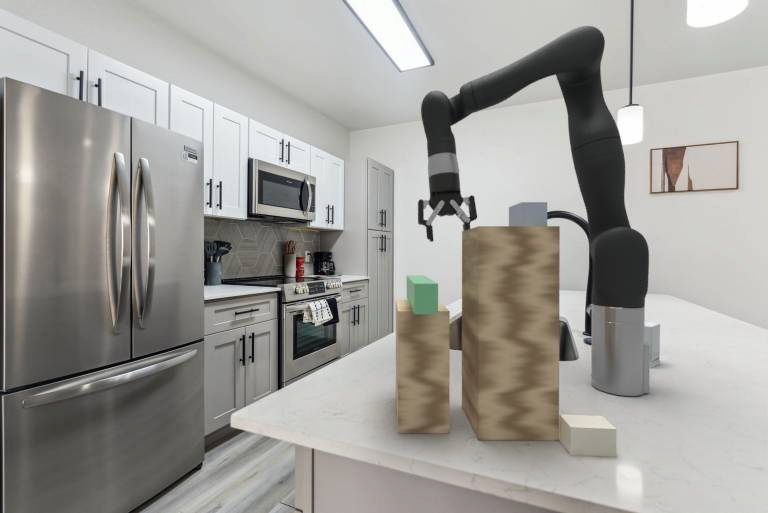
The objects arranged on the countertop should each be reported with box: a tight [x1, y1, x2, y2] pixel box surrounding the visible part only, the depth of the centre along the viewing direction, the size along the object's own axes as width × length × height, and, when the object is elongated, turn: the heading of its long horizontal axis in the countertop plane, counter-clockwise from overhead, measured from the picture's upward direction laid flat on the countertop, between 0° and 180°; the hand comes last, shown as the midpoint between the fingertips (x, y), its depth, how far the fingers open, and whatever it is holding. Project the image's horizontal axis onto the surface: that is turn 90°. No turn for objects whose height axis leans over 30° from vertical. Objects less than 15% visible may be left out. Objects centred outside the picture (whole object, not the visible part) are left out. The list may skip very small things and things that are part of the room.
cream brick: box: [559, 413, 617, 458], centre depth 52 cm, size 6×4×4 cm, turn 85°
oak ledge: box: [395, 299, 451, 434], centre depth 63 cm, size 8×14×19 cm, turn 0°
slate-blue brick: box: [508, 201, 548, 226], centre depth 60 cm, size 4×6×4 cm, turn 0°
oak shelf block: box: [461, 225, 561, 441], centre depth 60 cm, size 12×12×32 cm
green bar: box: [406, 275, 439, 314], centre depth 63 cm, size 4×20×4 cm, turn 0°
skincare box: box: [644, 320, 661, 369], centre depth 94 cm, size 10×6×10 cm, turn 36°
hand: (448, 240), depth 89 cm, fingers open, 8 cm apart
